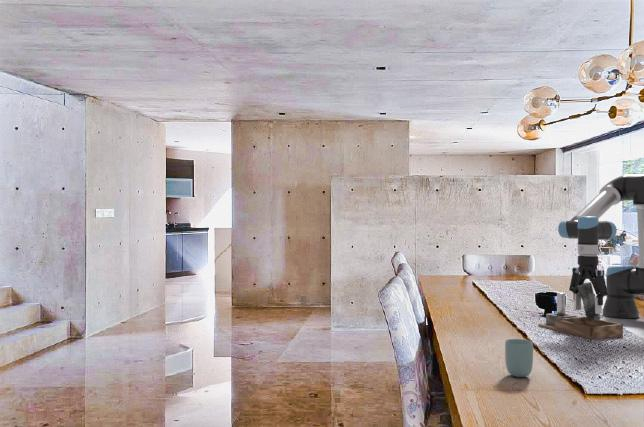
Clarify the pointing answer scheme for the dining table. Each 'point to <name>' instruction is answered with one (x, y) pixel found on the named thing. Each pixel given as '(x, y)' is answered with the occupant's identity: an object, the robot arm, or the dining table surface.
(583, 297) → the stone block
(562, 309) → the rod
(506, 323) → the dining table surface
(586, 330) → the board
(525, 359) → the cup
